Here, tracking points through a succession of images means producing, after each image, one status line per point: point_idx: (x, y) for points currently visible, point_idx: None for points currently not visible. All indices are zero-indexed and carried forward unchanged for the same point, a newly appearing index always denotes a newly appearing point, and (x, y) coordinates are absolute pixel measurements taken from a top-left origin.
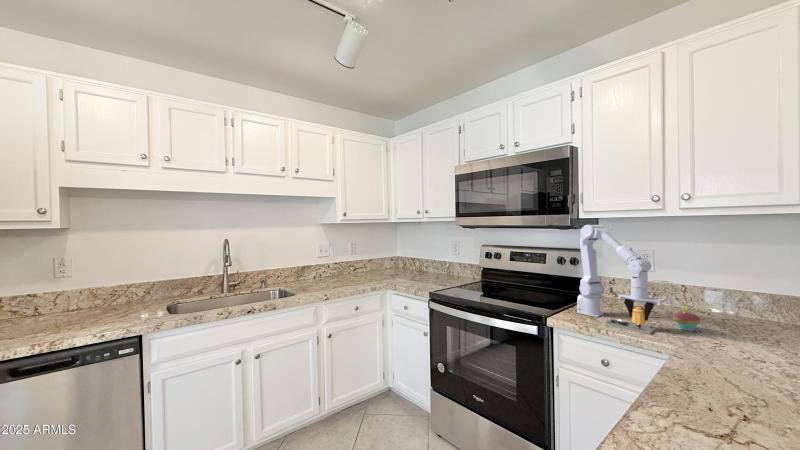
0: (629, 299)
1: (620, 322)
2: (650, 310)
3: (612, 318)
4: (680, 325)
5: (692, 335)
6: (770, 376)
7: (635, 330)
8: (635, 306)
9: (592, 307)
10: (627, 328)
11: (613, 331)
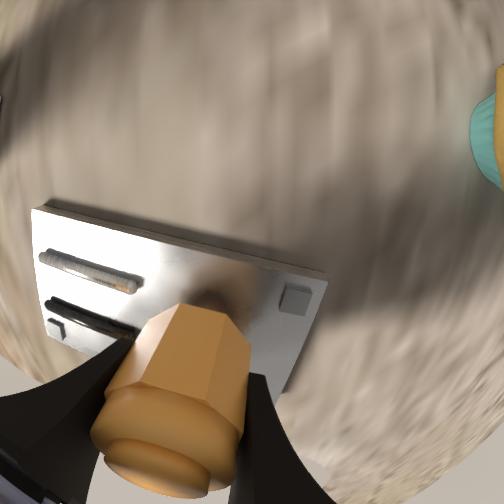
0: (32, 499)
1: (93, 329)
2: (289, 467)
3: (32, 218)
4: (492, 173)
5: (489, 269)
6: (455, 458)
7: None
8: (114, 465)
9: None
10: None
11: None
